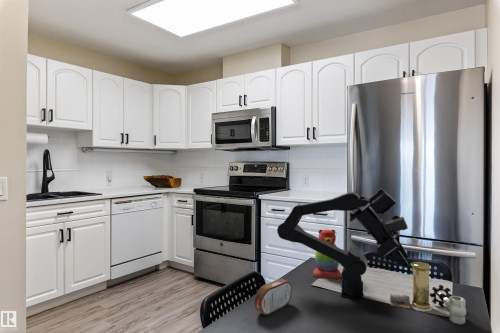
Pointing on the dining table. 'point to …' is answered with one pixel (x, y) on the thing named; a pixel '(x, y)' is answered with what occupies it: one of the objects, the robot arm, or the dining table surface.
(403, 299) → the small brown box
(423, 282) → the gold tall rounded piece
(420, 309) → the gap pad
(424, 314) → the dining table surface
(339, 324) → the dining table surface
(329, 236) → the stacking bear
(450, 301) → the valve
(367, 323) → the dining table surface
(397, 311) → the dining table surface
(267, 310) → the tin
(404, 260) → the robot arm
